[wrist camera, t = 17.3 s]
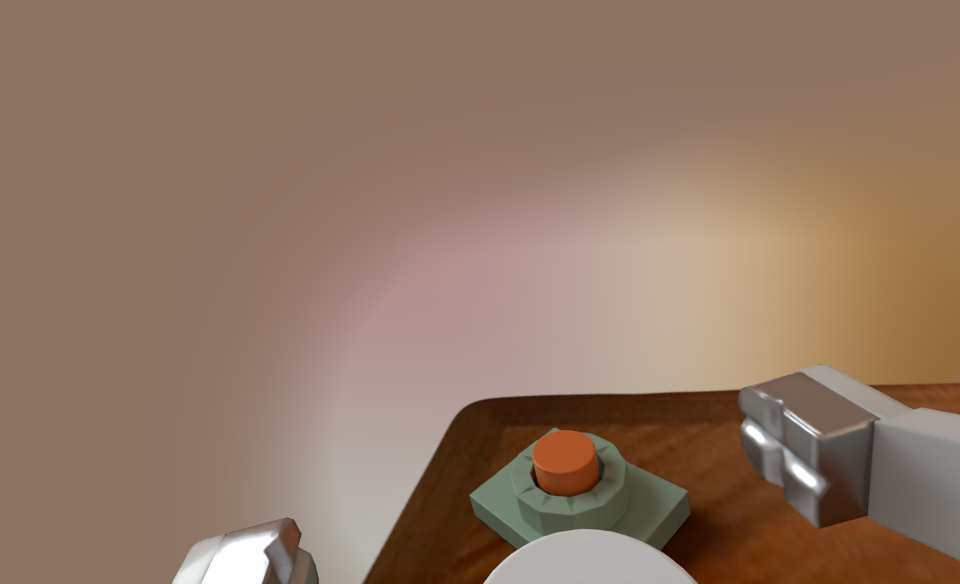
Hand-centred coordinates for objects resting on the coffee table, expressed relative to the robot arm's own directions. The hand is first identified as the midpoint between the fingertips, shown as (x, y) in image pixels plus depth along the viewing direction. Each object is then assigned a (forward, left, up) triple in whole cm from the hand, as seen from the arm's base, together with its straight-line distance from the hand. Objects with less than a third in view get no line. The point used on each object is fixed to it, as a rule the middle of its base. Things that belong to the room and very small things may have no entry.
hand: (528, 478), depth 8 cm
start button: (-11, +11, -14) cm, 21 cm away
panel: (-11, +11, -17) cm, 23 cm away
